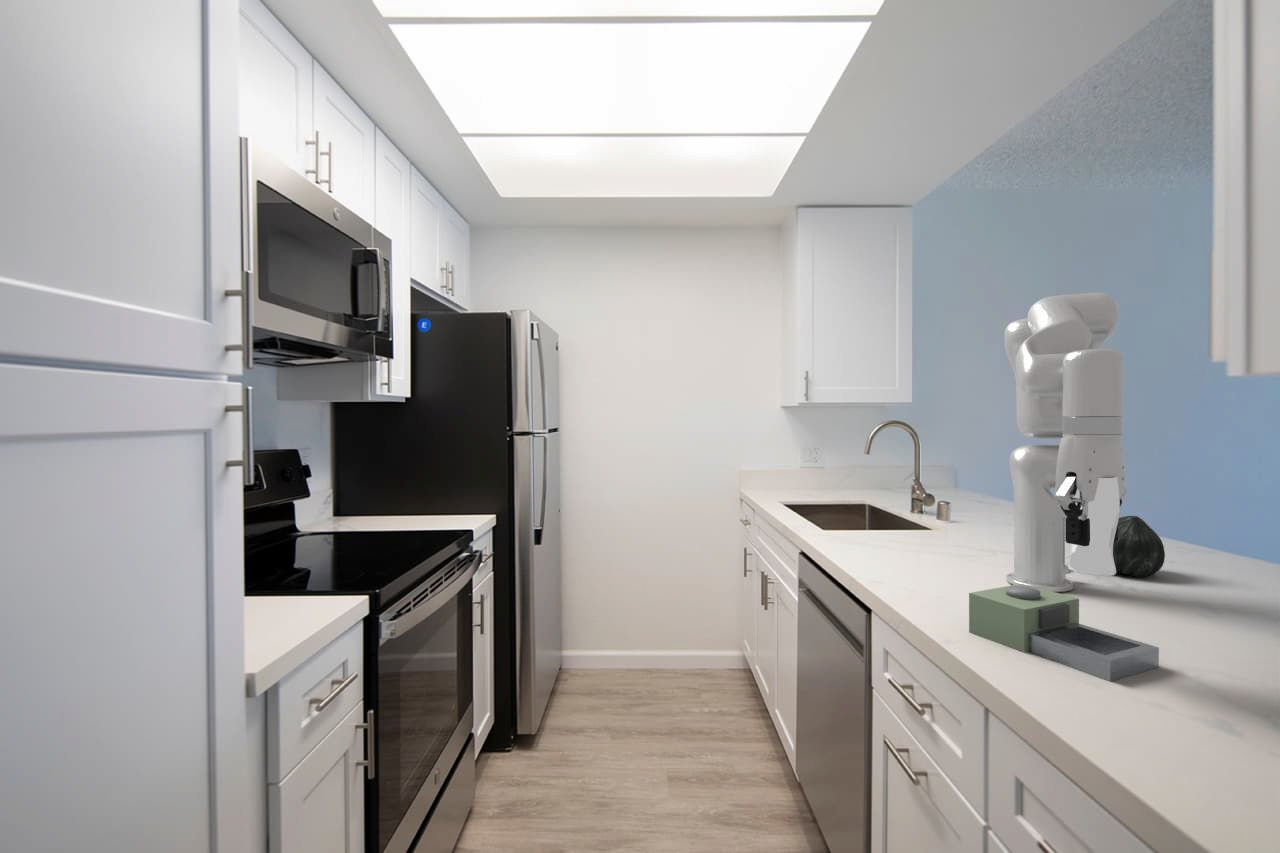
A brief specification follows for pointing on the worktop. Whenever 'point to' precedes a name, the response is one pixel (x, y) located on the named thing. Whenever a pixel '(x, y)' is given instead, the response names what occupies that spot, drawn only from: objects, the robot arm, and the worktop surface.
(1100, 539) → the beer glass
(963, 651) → the worktop surface
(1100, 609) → the worktop surface
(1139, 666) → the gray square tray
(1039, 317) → the robot arm
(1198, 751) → the worktop surface
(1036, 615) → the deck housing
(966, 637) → the worktop surface
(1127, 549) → the squash
